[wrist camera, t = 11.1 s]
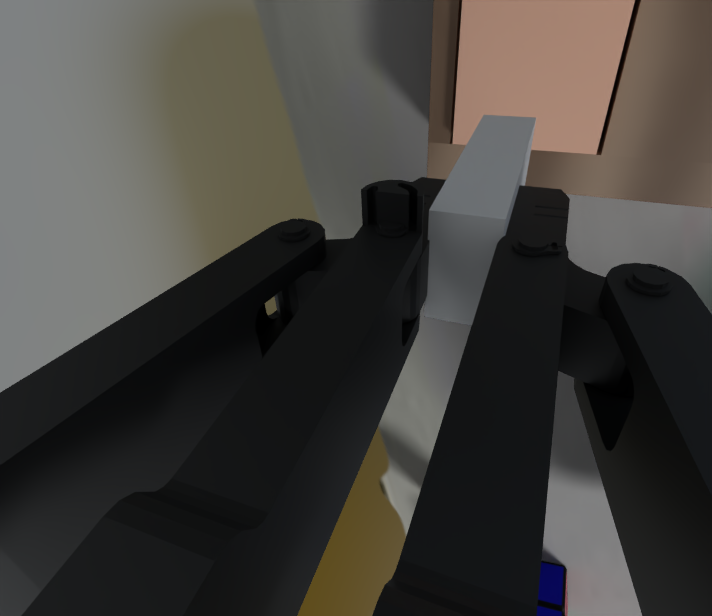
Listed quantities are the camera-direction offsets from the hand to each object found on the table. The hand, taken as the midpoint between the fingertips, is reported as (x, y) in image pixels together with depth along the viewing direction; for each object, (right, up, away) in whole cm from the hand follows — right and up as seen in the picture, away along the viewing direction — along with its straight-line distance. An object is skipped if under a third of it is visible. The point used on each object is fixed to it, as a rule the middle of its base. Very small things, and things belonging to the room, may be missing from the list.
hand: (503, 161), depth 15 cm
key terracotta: (+5, +8, +10) cm, 14 cm away
